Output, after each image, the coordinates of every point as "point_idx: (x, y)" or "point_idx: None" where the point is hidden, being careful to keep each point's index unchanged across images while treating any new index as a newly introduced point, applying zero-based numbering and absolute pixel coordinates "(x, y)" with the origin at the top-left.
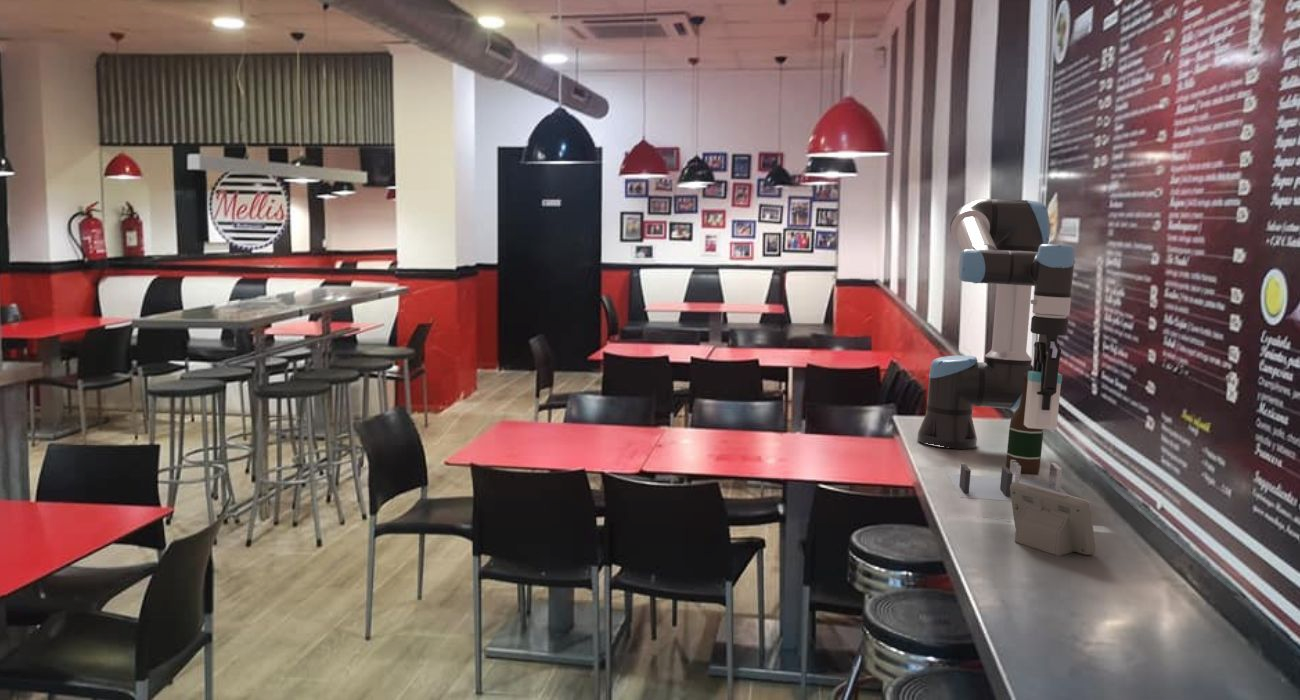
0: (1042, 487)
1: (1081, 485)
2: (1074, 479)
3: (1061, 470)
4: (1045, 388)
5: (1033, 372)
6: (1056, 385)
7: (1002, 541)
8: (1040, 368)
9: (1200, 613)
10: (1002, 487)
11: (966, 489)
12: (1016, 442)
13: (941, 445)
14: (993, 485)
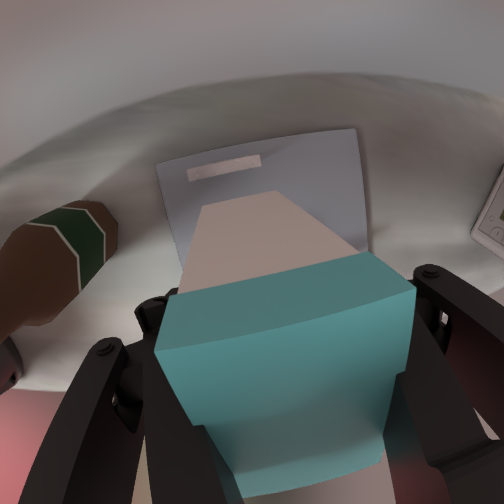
0: (230, 189)
1: (121, 111)
2: (76, 129)
3: (259, 155)
4: (444, 330)
5: (322, 474)
6: (470, 285)
7: (489, 250)
8: (236, 490)
9: None
10: None
11: None
12: (91, 277)
13: (18, 359)
14: None
